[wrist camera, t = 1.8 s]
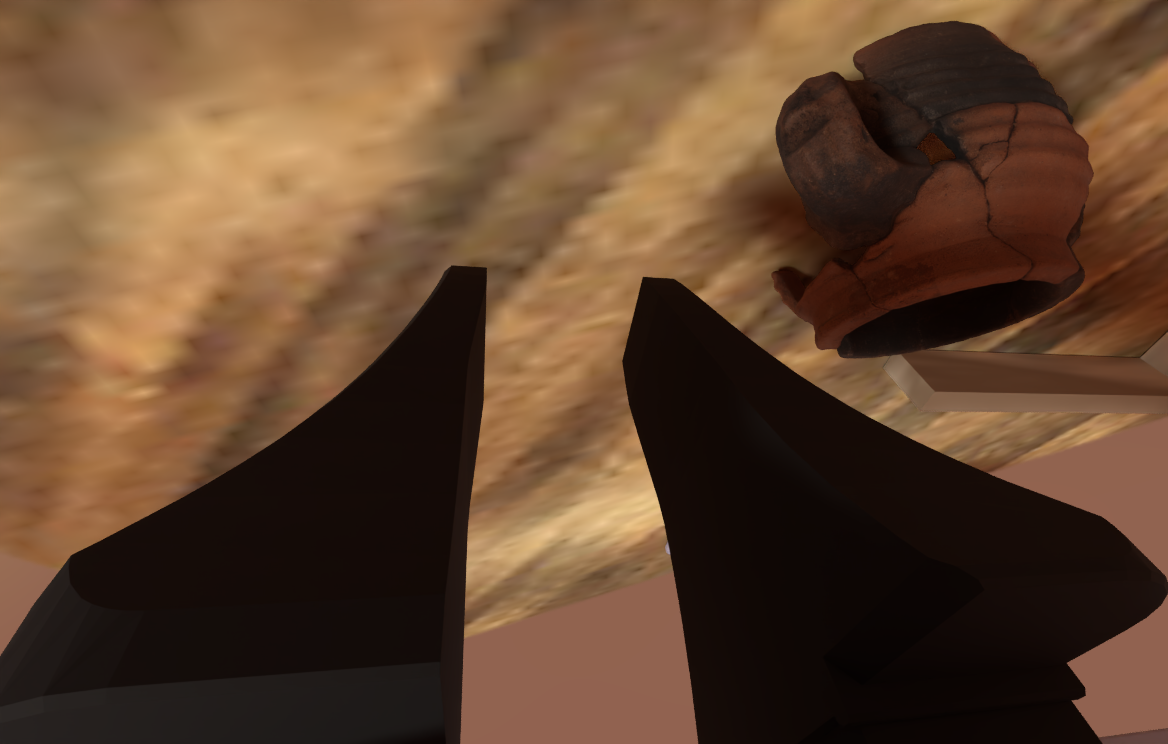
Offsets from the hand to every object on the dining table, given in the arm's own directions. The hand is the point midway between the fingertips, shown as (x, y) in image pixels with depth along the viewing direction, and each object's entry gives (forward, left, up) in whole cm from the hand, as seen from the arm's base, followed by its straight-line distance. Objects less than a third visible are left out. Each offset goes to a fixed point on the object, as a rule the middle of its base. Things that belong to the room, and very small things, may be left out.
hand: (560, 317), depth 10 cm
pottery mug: (0, -12, -10) cm, 15 cm away
